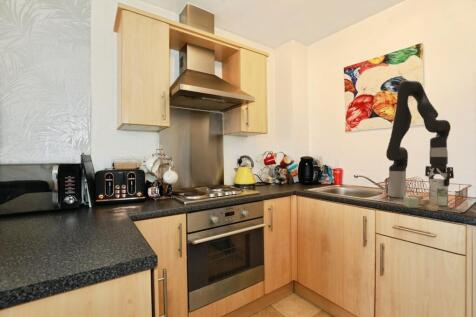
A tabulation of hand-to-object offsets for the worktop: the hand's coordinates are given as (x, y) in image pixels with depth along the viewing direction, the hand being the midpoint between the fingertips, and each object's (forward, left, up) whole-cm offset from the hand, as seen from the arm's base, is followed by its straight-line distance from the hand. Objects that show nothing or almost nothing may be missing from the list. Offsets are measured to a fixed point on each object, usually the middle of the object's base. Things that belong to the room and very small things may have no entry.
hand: (438, 185), depth 125 cm
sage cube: (+1, -17, -11) cm, 20 cm away
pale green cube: (-4, -10, -11) cm, 16 cm away
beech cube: (+8, -13, -11) cm, 19 cm away
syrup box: (0, 0, -11) cm, 11 cm away
